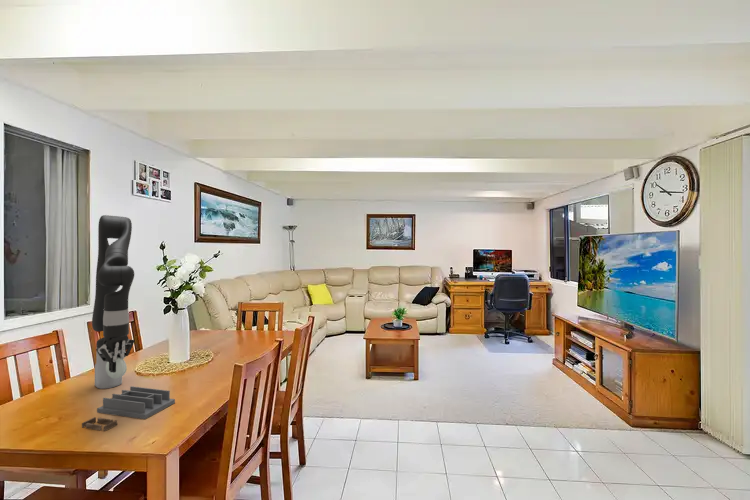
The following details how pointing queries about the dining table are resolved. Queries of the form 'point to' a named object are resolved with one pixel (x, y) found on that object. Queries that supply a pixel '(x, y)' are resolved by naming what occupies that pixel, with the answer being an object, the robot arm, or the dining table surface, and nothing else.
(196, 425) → the dining table surface
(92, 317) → the robot arm
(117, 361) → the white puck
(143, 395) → the rack
